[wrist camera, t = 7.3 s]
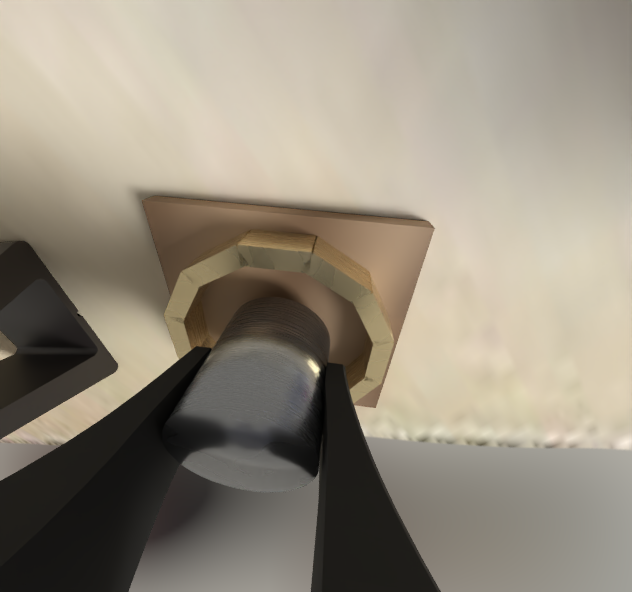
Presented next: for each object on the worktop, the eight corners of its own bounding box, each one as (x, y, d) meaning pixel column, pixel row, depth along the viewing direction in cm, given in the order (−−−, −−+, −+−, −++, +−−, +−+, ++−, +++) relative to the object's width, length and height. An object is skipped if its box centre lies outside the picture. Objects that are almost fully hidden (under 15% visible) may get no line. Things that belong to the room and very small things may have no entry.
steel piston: (337, 306, 10) (329, 427, 6) (323, 380, 13) (310, 501, 9) (225, 289, 10) (142, 396, 6) (233, 365, 13) (178, 477, 9)
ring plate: (428, 221, 10) (449, 244, 8) (374, 396, 16) (378, 434, 14) (154, 195, 10) (108, 211, 8) (203, 374, 17) (183, 408, 15)
